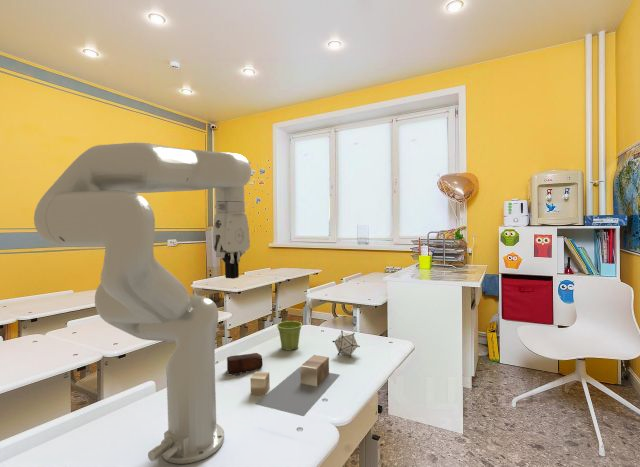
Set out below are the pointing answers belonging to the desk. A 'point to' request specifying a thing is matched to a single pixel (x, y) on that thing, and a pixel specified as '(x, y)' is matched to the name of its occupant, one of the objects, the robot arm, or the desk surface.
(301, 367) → the walnut block
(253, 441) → the desk surface
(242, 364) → the brick
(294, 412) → the mat
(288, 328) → the plant pot
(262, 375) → the beech block
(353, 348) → the spiked icosahedron
